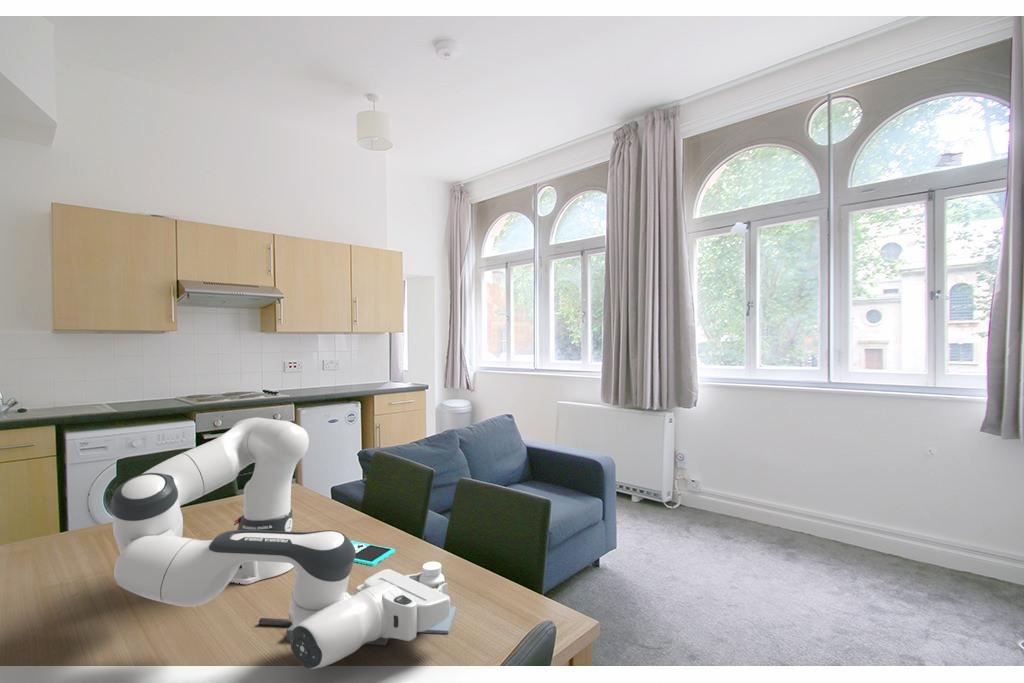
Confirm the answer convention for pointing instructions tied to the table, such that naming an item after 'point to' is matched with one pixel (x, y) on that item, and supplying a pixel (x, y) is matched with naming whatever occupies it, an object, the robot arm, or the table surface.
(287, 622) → the power strip
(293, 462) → the robot arm
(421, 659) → the table surface
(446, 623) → the rubber mat
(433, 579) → the supplement bottle
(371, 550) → the handheld game console
